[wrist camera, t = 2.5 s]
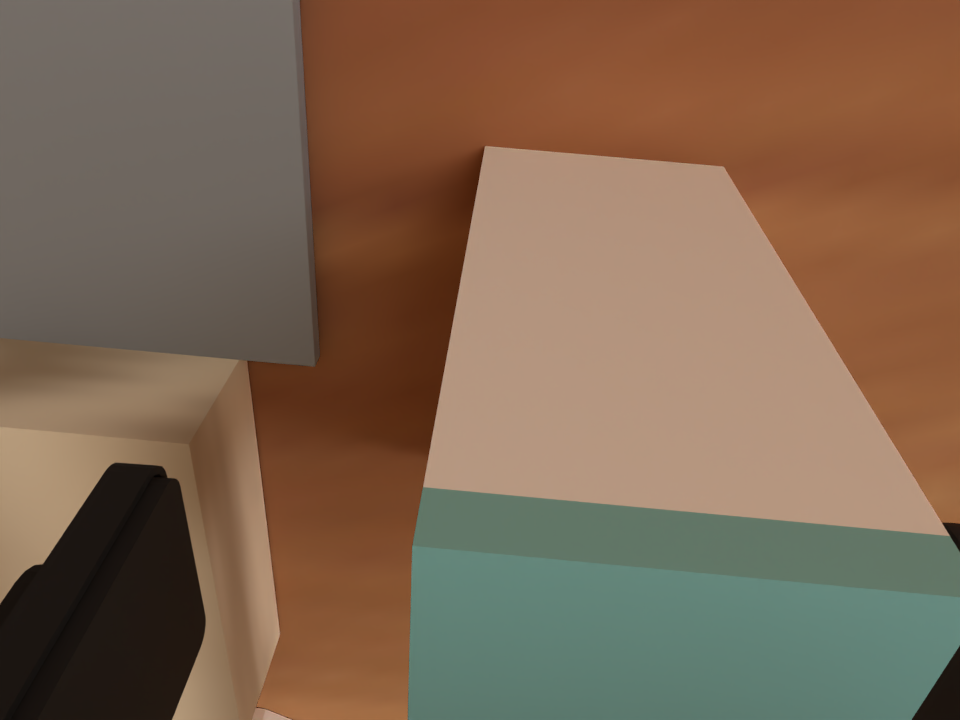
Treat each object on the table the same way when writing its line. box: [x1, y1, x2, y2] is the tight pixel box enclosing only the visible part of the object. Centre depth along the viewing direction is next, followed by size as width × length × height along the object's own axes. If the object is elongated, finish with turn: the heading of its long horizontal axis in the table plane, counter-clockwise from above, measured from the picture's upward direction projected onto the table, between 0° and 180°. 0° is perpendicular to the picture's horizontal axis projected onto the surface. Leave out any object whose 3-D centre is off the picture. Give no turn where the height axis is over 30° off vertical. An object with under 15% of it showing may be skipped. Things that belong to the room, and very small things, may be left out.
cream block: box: [408, 146, 960, 720], centre depth 11 cm, size 4×7×9 cm, turn 176°
